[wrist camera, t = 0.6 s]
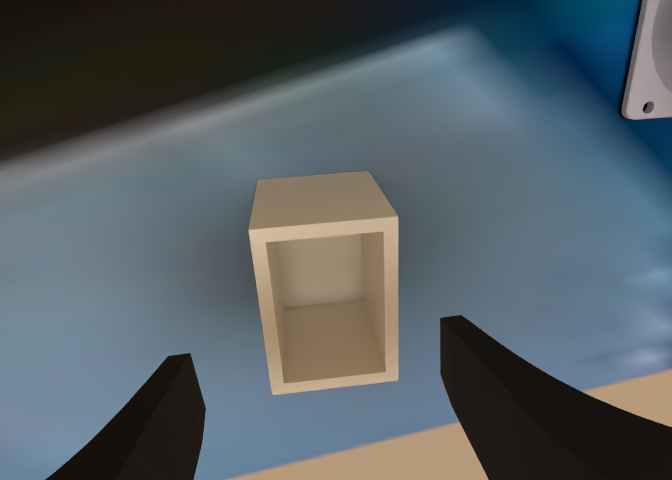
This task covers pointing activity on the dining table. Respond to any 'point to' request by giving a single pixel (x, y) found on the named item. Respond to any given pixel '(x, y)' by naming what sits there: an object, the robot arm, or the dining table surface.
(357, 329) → the small crate
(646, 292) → the dining table surface
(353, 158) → the dining table surface
